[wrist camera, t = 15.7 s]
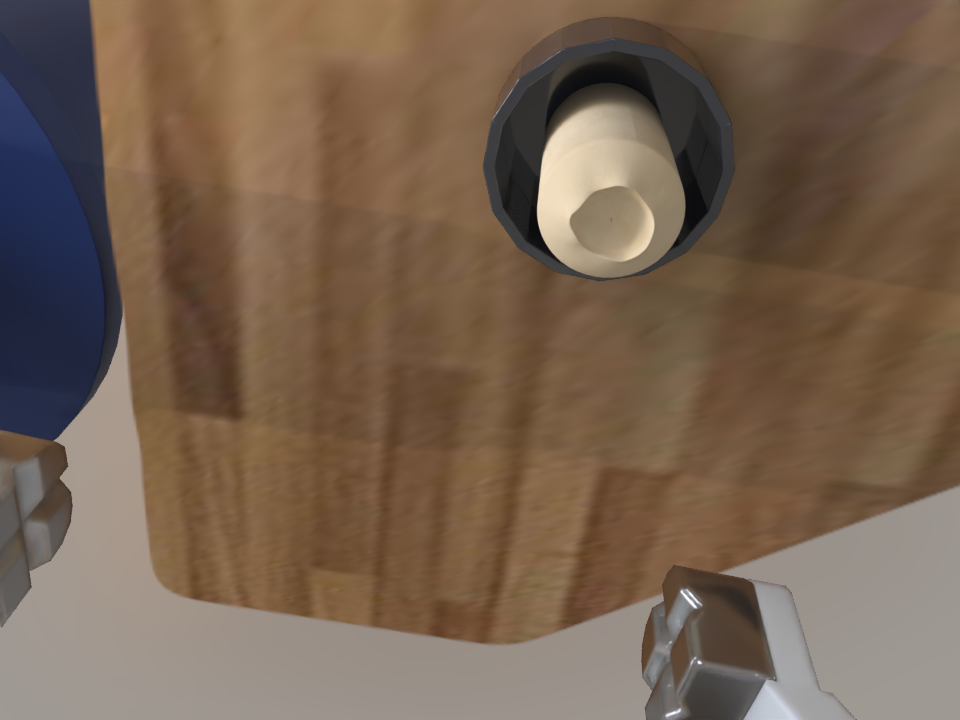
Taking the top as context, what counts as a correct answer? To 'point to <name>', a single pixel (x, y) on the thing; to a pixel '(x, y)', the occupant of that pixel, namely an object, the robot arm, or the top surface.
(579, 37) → the holder
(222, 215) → the top surface
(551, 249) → the candle
